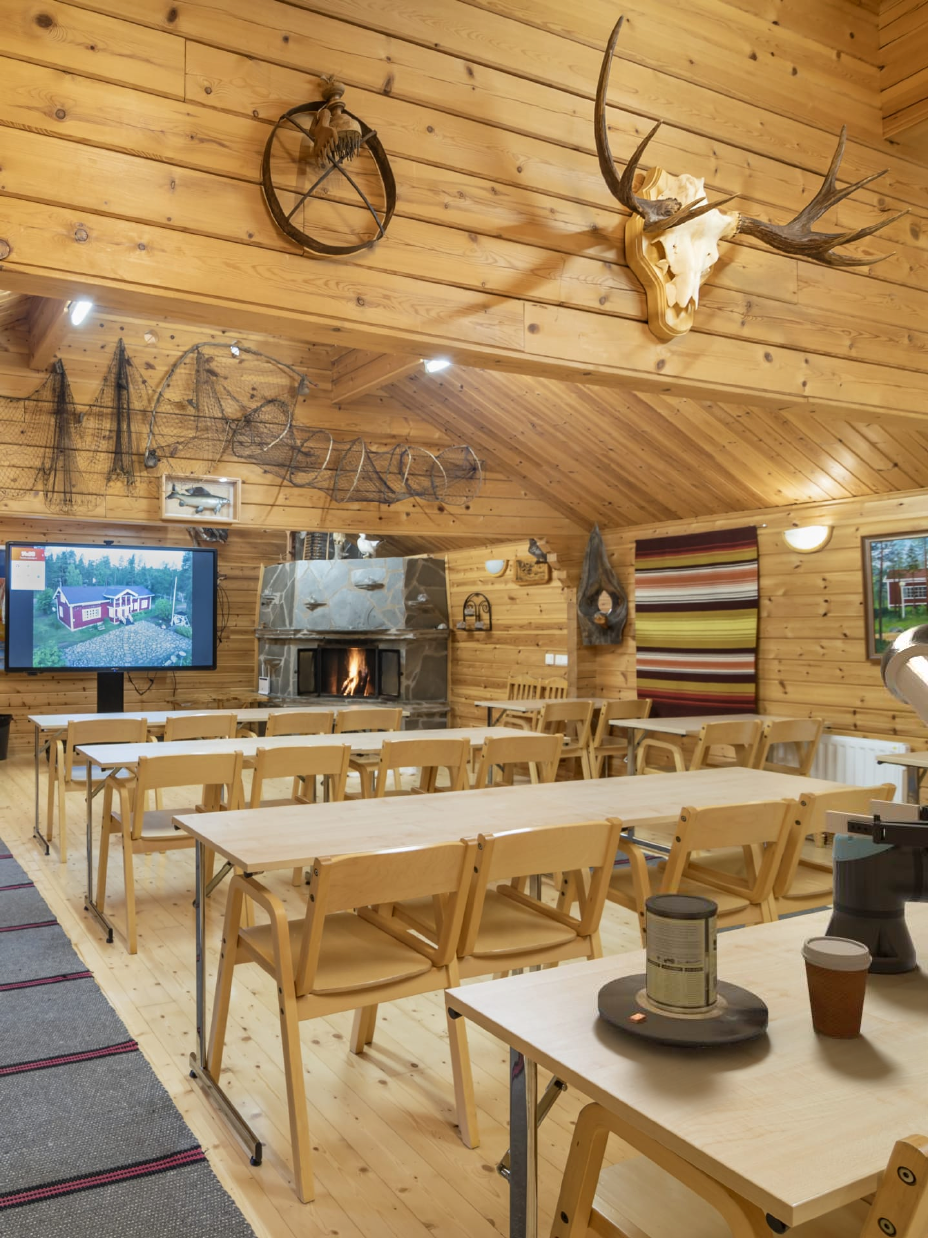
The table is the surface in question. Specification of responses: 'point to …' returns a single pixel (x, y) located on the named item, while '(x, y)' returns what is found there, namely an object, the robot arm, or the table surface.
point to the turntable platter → (683, 1015)
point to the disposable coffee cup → (836, 984)
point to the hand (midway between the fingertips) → (849, 815)
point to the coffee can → (681, 953)
